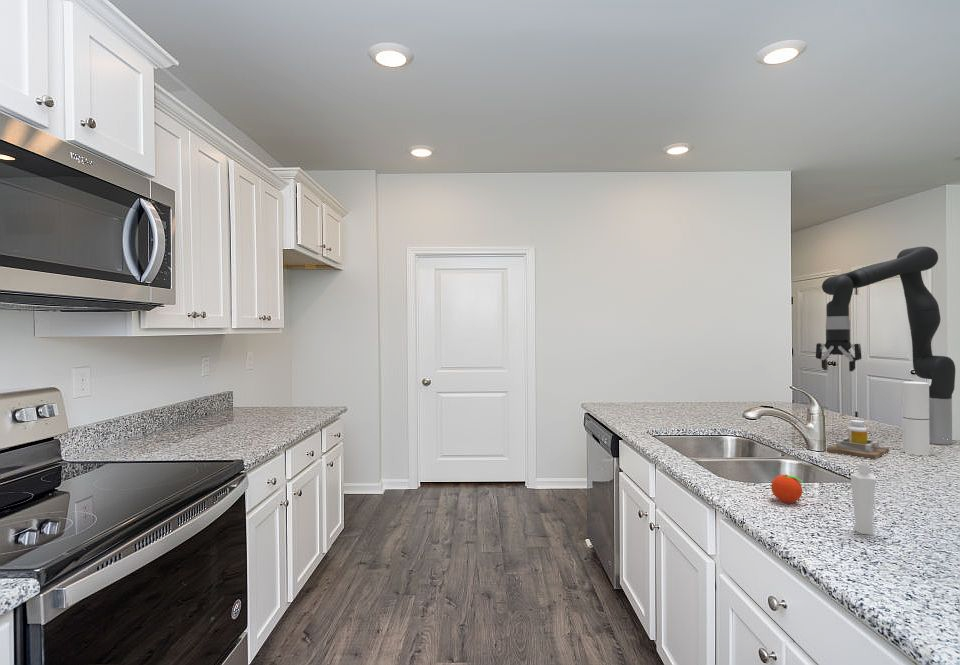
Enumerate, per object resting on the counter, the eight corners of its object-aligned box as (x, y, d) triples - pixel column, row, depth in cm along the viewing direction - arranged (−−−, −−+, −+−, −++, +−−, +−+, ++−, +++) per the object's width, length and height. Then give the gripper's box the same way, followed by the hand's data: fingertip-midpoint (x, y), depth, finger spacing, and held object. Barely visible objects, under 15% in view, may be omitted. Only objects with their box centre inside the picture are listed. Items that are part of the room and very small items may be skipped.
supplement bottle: (871, 449, 176) (871, 422, 176) (855, 450, 176) (855, 422, 176) (860, 446, 181) (859, 419, 181) (844, 446, 181) (844, 419, 181)
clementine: (807, 501, 130) (807, 474, 130) (807, 509, 125) (806, 480, 125) (772, 495, 135) (772, 469, 135) (770, 503, 129) (769, 476, 129)
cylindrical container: (898, 452, 178) (897, 382, 177) (909, 450, 181) (908, 381, 180) (922, 457, 171) (922, 384, 171) (933, 454, 174) (933, 382, 174)
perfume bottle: (851, 525, 114) (851, 459, 114) (876, 530, 112) (875, 463, 111) (850, 531, 111) (849, 464, 111) (875, 536, 108) (875, 467, 108)
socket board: (842, 445, 189) (842, 435, 189) (888, 452, 177) (888, 441, 177) (826, 452, 180) (826, 440, 180) (874, 459, 169) (874, 448, 169)
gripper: (863, 328, 188) (864, 371, 188) (820, 328, 199) (820, 369, 200) (856, 328, 183) (856, 372, 184) (812, 328, 195) (813, 370, 195)
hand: (838, 370), depth 192 cm, fingers open, 8 cm apart
